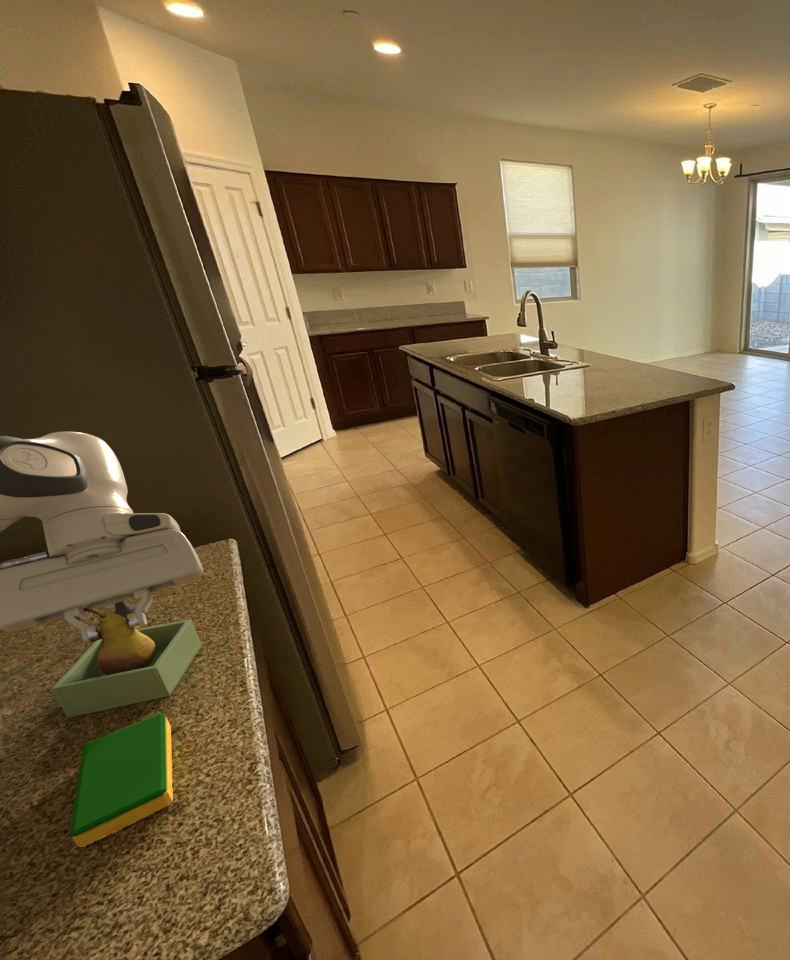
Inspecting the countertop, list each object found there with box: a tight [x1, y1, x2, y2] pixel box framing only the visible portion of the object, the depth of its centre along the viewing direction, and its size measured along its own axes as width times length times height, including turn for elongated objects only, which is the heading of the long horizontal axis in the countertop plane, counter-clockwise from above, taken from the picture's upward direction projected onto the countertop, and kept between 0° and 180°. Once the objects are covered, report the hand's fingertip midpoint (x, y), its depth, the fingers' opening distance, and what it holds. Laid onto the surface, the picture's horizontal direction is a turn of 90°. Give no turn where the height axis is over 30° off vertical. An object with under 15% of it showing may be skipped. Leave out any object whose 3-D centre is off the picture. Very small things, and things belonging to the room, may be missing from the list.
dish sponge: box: [69, 712, 174, 848], centre depth 57 cm, size 7×14×2 cm, turn 41°
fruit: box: [84, 608, 156, 675], centre depth 69 cm, size 6×6×12 cm
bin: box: [51, 618, 203, 719], centre depth 71 cm, size 11×11×5 cm
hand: (116, 633), depth 69 cm, fingers closed on fruit, 3 cm apart
